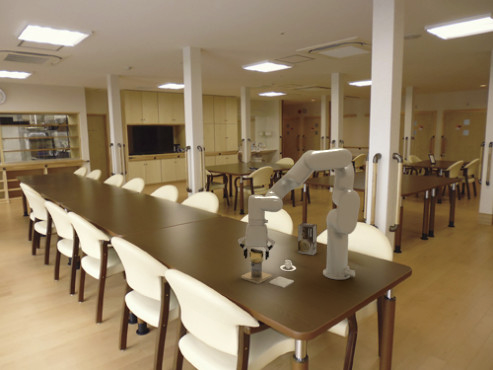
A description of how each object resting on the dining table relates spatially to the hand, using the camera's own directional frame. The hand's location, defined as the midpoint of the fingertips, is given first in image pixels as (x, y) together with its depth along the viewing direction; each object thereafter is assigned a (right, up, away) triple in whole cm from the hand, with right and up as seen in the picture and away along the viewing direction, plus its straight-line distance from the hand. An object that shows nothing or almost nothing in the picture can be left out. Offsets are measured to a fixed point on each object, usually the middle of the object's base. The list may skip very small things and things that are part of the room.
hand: (256, 258), depth 162 cm
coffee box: (+30, -5, +36) cm, 47 cm away
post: (0, -9, +1) cm, 9 cm away
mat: (+11, -10, -4) cm, 16 cm away
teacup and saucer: (+19, -8, +14) cm, 25 cm away
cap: (0, -1, 0) cm, 1 cm away
